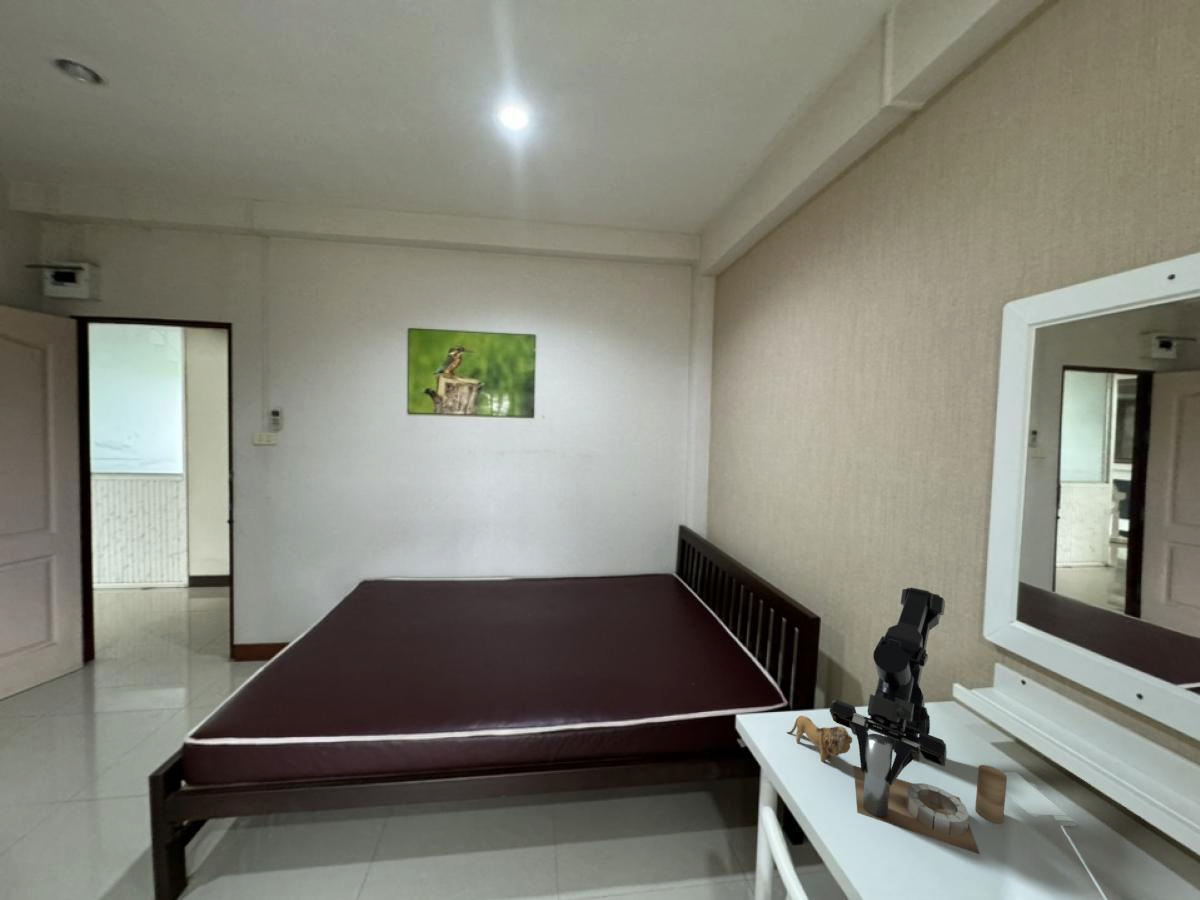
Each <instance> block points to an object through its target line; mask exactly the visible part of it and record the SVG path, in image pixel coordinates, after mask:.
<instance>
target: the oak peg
mask: <svg viewBox="0 0 1200 900" xmlns="http://www.w3.org/2000/svg"><path fill="white" fill-rule="evenodd" d="M977 771H978V772H977V785H976V796H975V797H976V798H975V807H974V810H975V812H976V814H977V815H978V816H979V817H981V818H982V819H984V820H985V821H987V822H990V823H992V824H996V825H997V824H998V825H1000V824H1003V823H1004V817H1005V816H1004V814H1005V804H1006V803H1005V802H1006V795H1007V794H1006V782H1007V777H1006V775H1005V774H1004V773H1003V772H1004V771H1001V770H1000V769H999V768H996V767H993V766H992V765H991V766H990V765H986V764H981V765H979V766H978V770H977Z"/></svg>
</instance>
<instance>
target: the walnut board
mask: <svg viewBox="0 0 1200 900" xmlns="http://www.w3.org/2000/svg"><path fill="white" fill-rule="evenodd" d="M853 774H854V786H855V798H856V811H857V812H856V813H857V814H861V815H863V816H866V817H869V818H872V819H875V820H878V821H880V822H883V823H886V824H889V825H891V826H895V827H899V828H902V829H905V830H907V831H910V832H912V833H917V834H919V835H922V836H925V837H928V838H931V839H934V840H937V841H940V842H943V843H946V844H949V845H951V846H954V847H957V848H960V849H963V850H966V851H969V852H971V853H972V852H973V853H974V854H978V855H980V854H981V853H980V850H979V848H978V845H977V842H976V839H975V837H974V835H973V832H972V829H971V827H970V823H969V822H968V830H967V831H966V832H965V833H964V834H963V835H962V836H950V835H949V836H948V835H945V834H942V833H939V832H936V831H934V830H932V829H930V828H928V827H927V826H925V825H924V824H922V823H920V822H919V821H918V820H916V818H915V817H914V816H913V815H912V814H911V813H910V812H909V811H908V808H907V804H906V796H907V788H908V787H909V786H910V785H912V784H914V783H913V782H909V781H907V780H903V779H900V778H898V777H897V778H896V780H895V781H894V782H893V784H892V785H890V791H889V804H888V815H887V817H885V818H878V817H875V816H873V815H871V814H869V813H868V812H867V811H866V810H865V809H864V807H863V794H864V781H865V772H864V773H863V772H862V771H861V766H857V765H853ZM953 796H954V797H956V798H957V799H958V800H959V801H960V802H961V799H960V796H959V797H958V796H956V795H953ZM922 803H923V804H924V805H925V806H927V807H928V808H930V809H932V810H933V811H935V812H938V813H941V814H945V815H951V814H950V813H949V812H948V811H947V810H945V809H943V808H942V807H940V806H938V805H935V804H932V803H929V802H922ZM961 803H962V802H961Z"/></svg>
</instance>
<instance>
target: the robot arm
mask: <svg viewBox="0 0 1200 900" xmlns="http://www.w3.org/2000/svg"><path fill="white" fill-rule="evenodd" d="M900 605H901V606H903V607H902V610H901V613H900V616H899V619H898V622H897V623H896V624H895V625H892V626H890V627H888V628H887V631H886V633H885V635H882V636H881V638H880V640H879V641H878V643H877V644H876V646H875V650H874V651H873V656H872V657H873V660H874V665H875V669H876V673H877V675H878V680H877V684H876V689H875V692H874V694H871V693H870V694H869V698H868V706H867V715H868V716H869V717H867V716H865V715H862V714H859V713H858V712H857V710H856V707H855V706H854V705H852V704H849V703H846V702H845V701H841V700H839V699H835V700H833V701H832V702H831V705H830V707H829V713H830V716H831V718H832V720H833V722H835V723H836V724H838V725H841V726H842V727H844V728H848V729H850V731H851V733H852V735H854V736H856V739H857V743H858V751H859V761H860V767H861V771H862V772H863V773H864V772H865V767H866V754H867V740H868V735H869V730H870V731H873V732H874V733H876V734H879V735H882V736H884V737H886V738H888V739H889V740H891V741H892V743H893V752H894V753H895V756H894V759H893V761H892V765H891V771H890V775H889V781H888V783H889V785H892V784H893V782H894V781H895V780H896V778H897V779H898V776H899V775H900V774H901V773H902V771H903V770H904V769H905V768H906V767H907V766H908V765H909V764H910V763H911V762H912V761H917V762H920V760H921V756H922V757H923V759H924V760H925V761H929V762H932V763H933V764H936V765H938V766H941V767H946V761H947V744H946V743H945V741H944V740H943V739H941V738H939V737H936V736H933V735H931V734H930V731H931V730H930V729H931V720H930V719H931V718H930V715H929V713H928V712H929V711H928V708H927V707H925V705H926V704H925V699H924V698H925V697H924V694H923V692H922V690H921V687H920V684H921V677H922V671H923V667H925V665H926V663H928V662H927V661H928V659H929V657H928V656H929V655H928V653H927V644H928V640H929V632H930V631H931V630H932V629H934V628H935V627H936V626H938V625H939V623H940V618H941V616H944V614H945V610H946V609H945V607H946V600H945V598H943V597H941V595H940V594H937V593H933V592H930V590H927V589H920V588H917V587H913V586H912V587H906V588H903V589H902V591H901V598H900ZM920 754H921V756H920Z"/></svg>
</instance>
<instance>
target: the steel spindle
mask: <svg viewBox="0 0 1200 900" xmlns="http://www.w3.org/2000/svg"><path fill="white" fill-rule="evenodd" d="M884 736H885V735H882V734H880V733H870V734H869V733H868V740H867V754H866V767H865V781H864V794H863V807H864V809H865V810H866V811H867V812H868V813H869V814H871V815H873V816H875V817H878V818H885V817H887V815H888V804H889V791H890V785H889V783H888V781H889V775H890V771H891V768H892V765H893V752H894V750H893V743H892V741H891V740H889V739H888V738H886V737H884Z"/></svg>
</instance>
